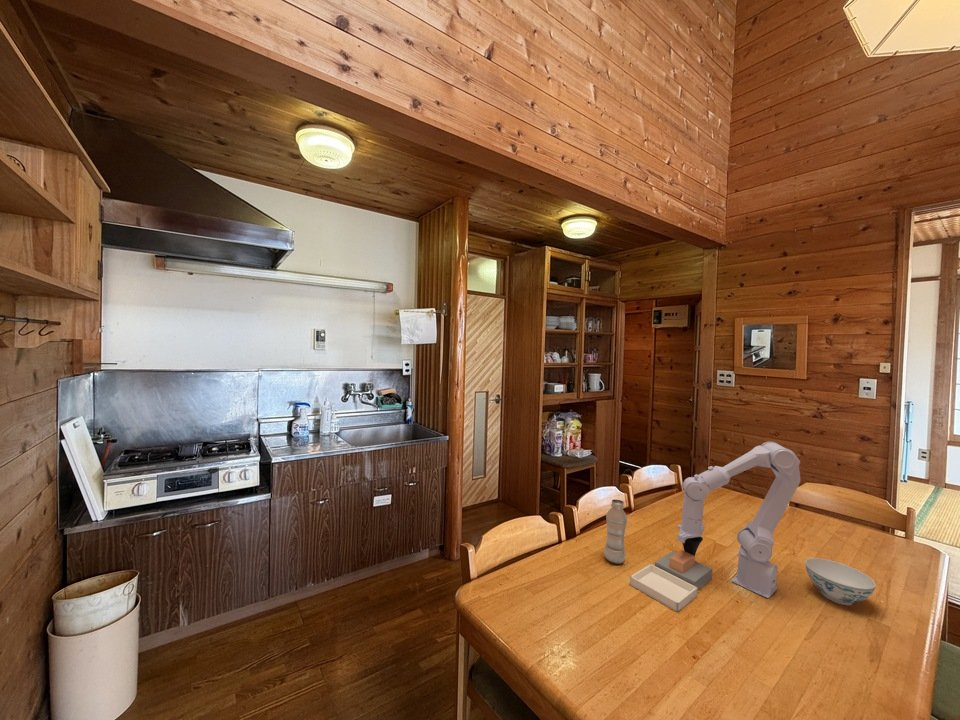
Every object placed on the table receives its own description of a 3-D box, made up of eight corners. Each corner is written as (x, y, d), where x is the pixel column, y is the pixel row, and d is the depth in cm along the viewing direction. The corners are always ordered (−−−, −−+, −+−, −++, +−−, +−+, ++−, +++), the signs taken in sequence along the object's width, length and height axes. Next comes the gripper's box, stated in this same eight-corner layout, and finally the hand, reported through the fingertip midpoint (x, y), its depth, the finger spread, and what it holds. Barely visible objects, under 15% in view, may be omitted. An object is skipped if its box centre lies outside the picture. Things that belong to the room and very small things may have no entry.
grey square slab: (711, 579, 117) (712, 568, 116) (694, 593, 109) (695, 581, 109) (672, 561, 126) (673, 550, 126) (654, 572, 119) (654, 561, 119)
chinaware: (862, 593, 113) (864, 568, 113) (882, 623, 100) (885, 595, 100) (798, 576, 121) (800, 552, 121) (809, 602, 108) (812, 576, 108)
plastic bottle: (626, 567, 121) (630, 506, 120) (604, 564, 122) (608, 504, 121) (623, 557, 127) (626, 499, 126) (602, 554, 128) (605, 496, 128)
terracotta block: (688, 569, 115) (689, 559, 115) (682, 573, 113) (683, 563, 113) (675, 563, 119) (675, 553, 118) (669, 567, 116) (669, 557, 116)
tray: (697, 596, 108) (697, 587, 108) (677, 612, 101) (678, 603, 101) (650, 571, 119) (650, 563, 119) (629, 584, 112) (630, 576, 112)
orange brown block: (694, 565, 118) (694, 556, 118) (688, 569, 115) (689, 559, 115) (681, 559, 121) (681, 550, 121) (675, 563, 119) (675, 553, 119)
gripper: (689, 506, 127) (686, 545, 128) (668, 516, 118) (665, 558, 119) (712, 514, 122) (709, 555, 122) (692, 525, 113) (689, 570, 113)
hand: (689, 558), depth 120 cm, fingers closed
